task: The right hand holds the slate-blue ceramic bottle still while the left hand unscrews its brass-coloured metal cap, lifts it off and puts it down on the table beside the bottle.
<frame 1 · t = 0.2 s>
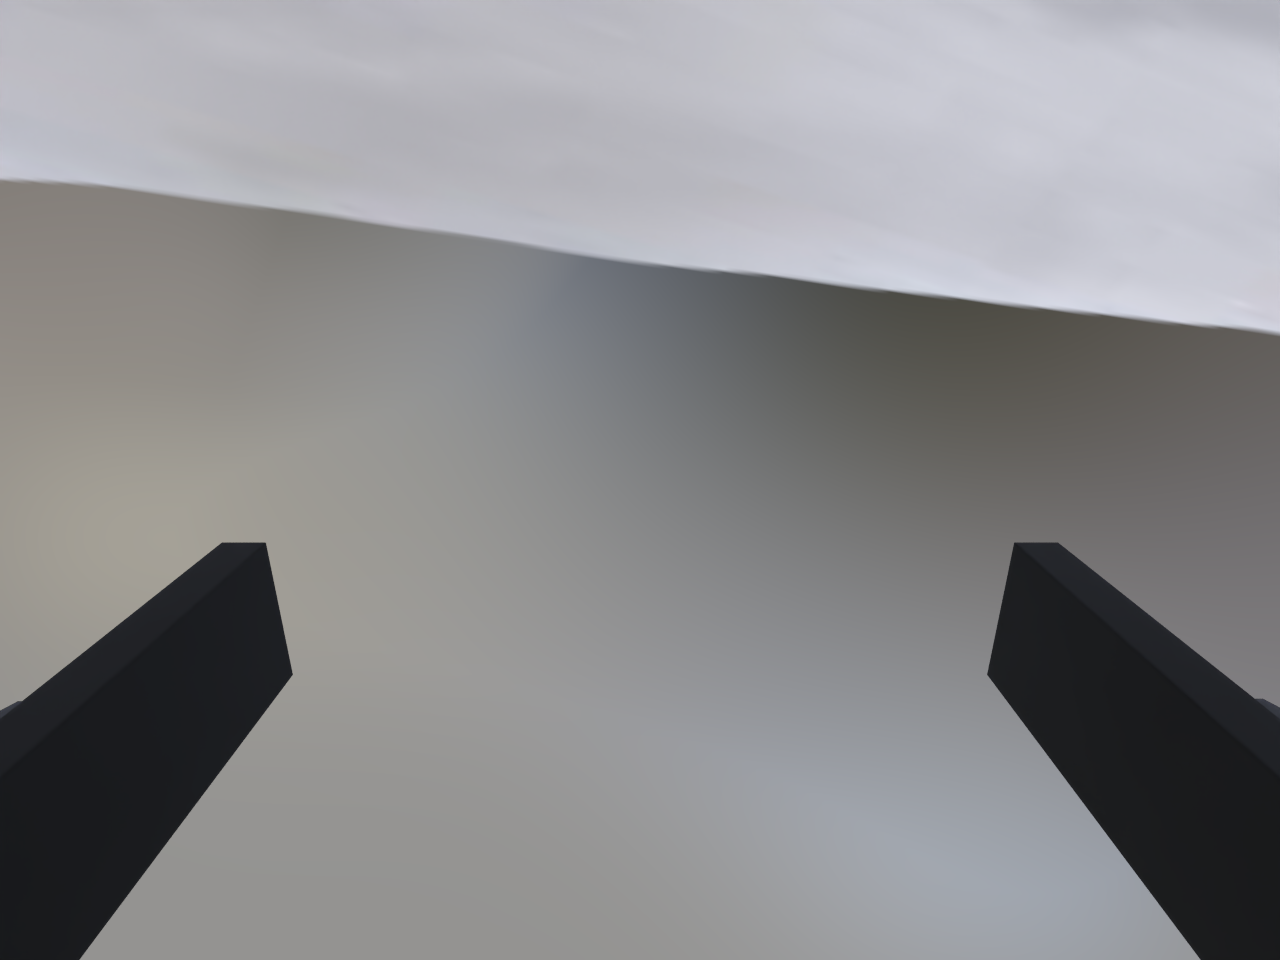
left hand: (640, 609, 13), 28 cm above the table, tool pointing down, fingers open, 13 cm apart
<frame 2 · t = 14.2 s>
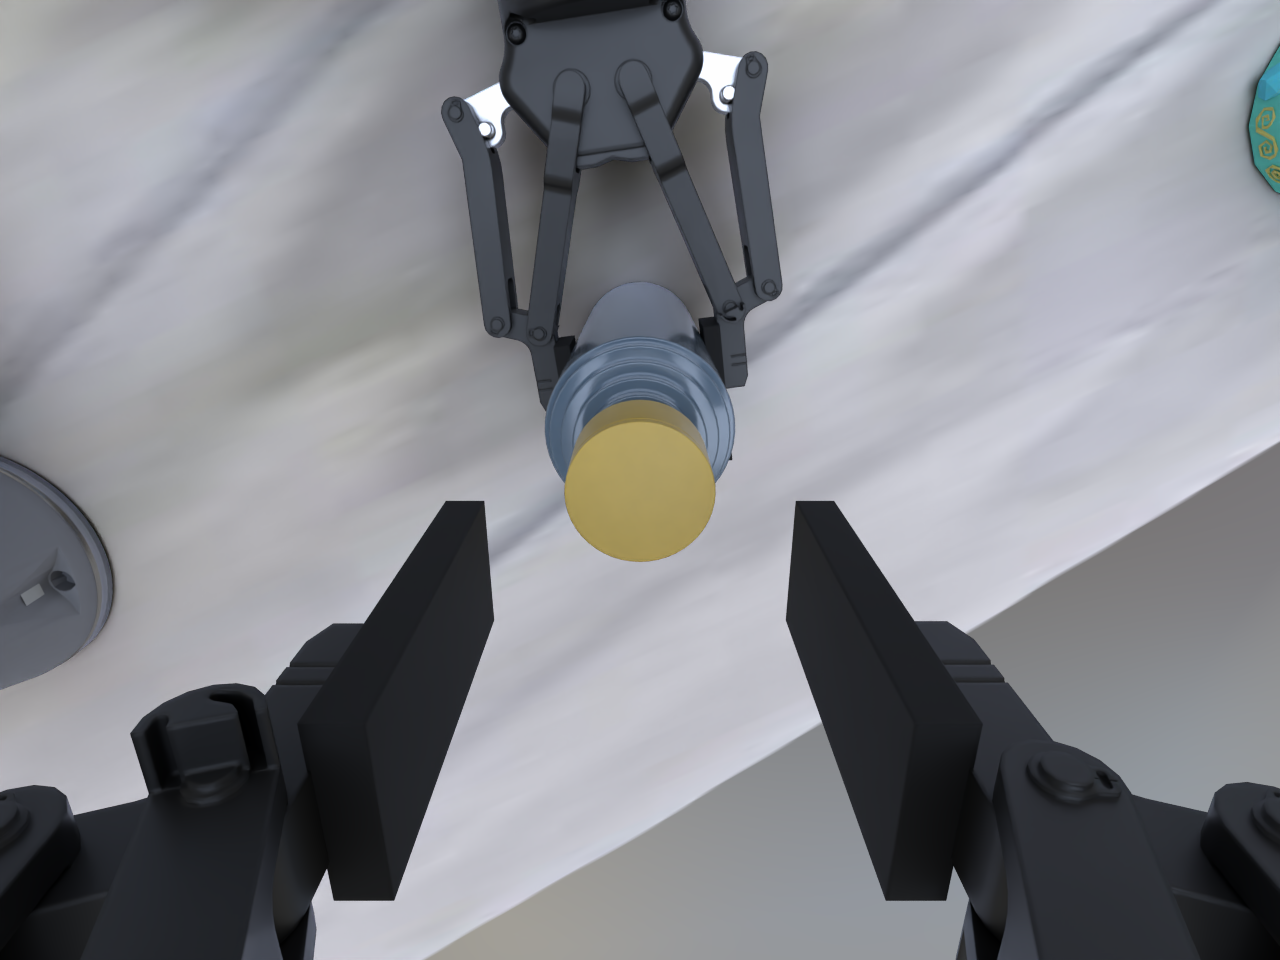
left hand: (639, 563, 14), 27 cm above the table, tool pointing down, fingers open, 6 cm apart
right hand: (653, 459, 36), fingers closed on bottle, 6 cm apart
cap: (639, 490, 18), point 23 cm above the table, screwed on, not yet turned
bottle: (639, 338, 40), on the table, touching right hand
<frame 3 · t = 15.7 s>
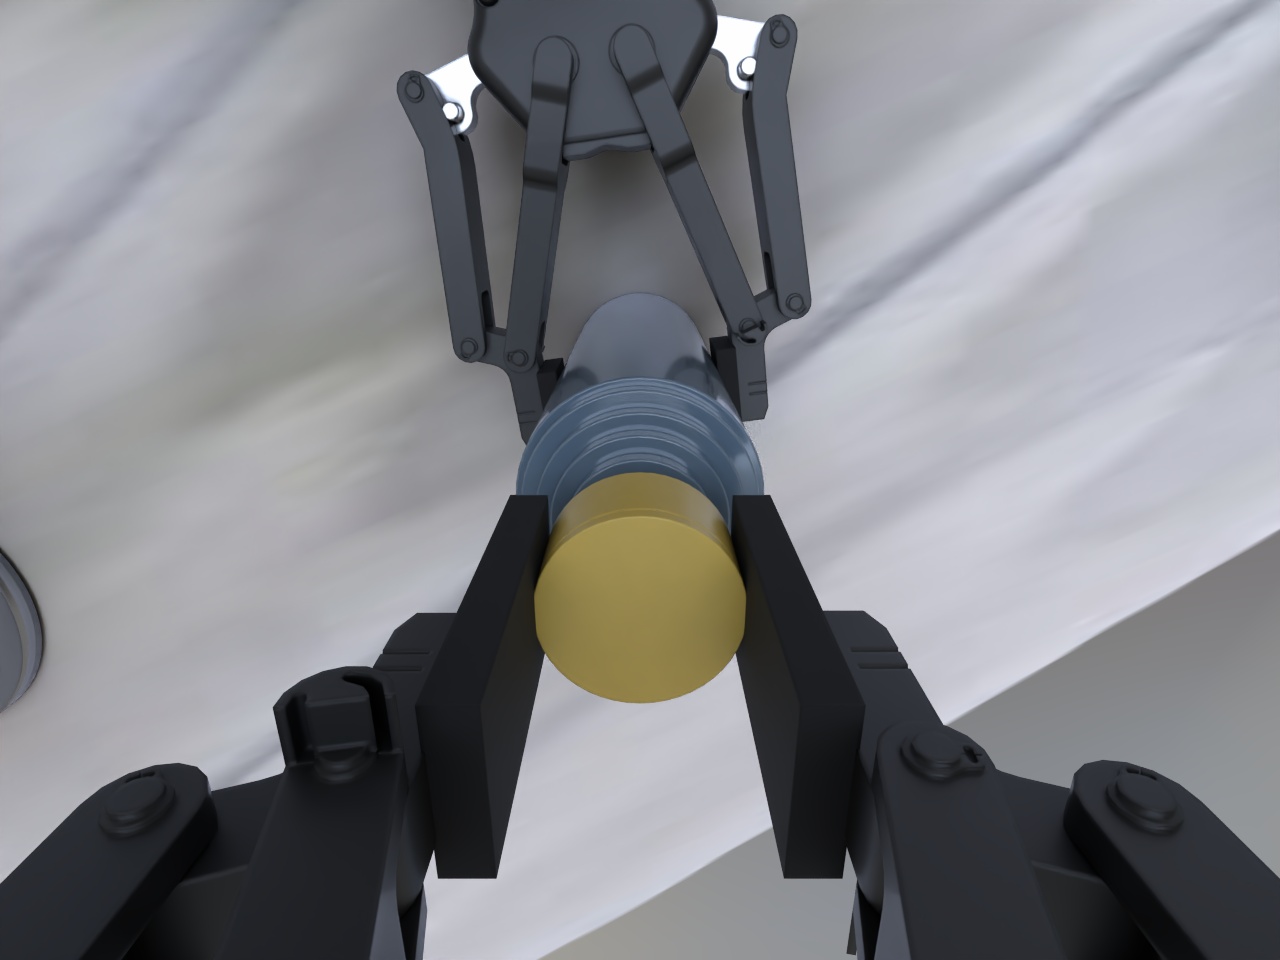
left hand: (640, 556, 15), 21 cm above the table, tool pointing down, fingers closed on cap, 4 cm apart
right hand: (655, 503, 31), fingers closed on bottle, 6 cm apart
cap: (640, 606, 13), point 23 cm above the table, screwed on, not yet turned, touching left hand
bottle: (639, 358, 35), on the table, touching right hand
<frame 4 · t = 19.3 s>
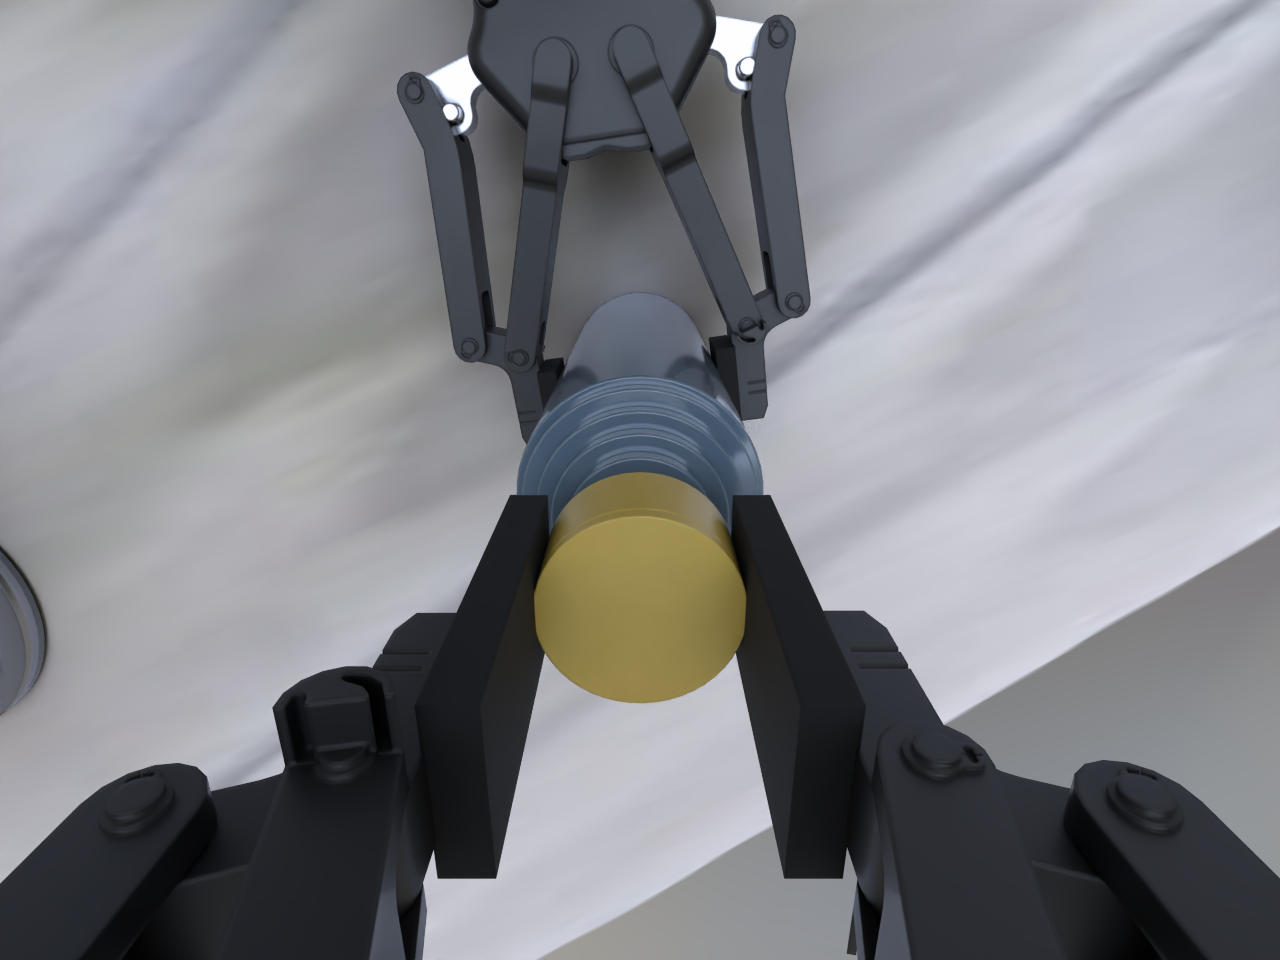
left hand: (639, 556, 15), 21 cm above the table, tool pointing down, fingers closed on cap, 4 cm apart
right hand: (656, 502, 31), fingers closed on bottle, 6 cm apart
cap: (640, 606, 13), point 23 cm above the table, turned 114° so far, risen 0.1 cm, still on its thread, touching left hand
bottle: (639, 357, 35), on the table, touching right hand
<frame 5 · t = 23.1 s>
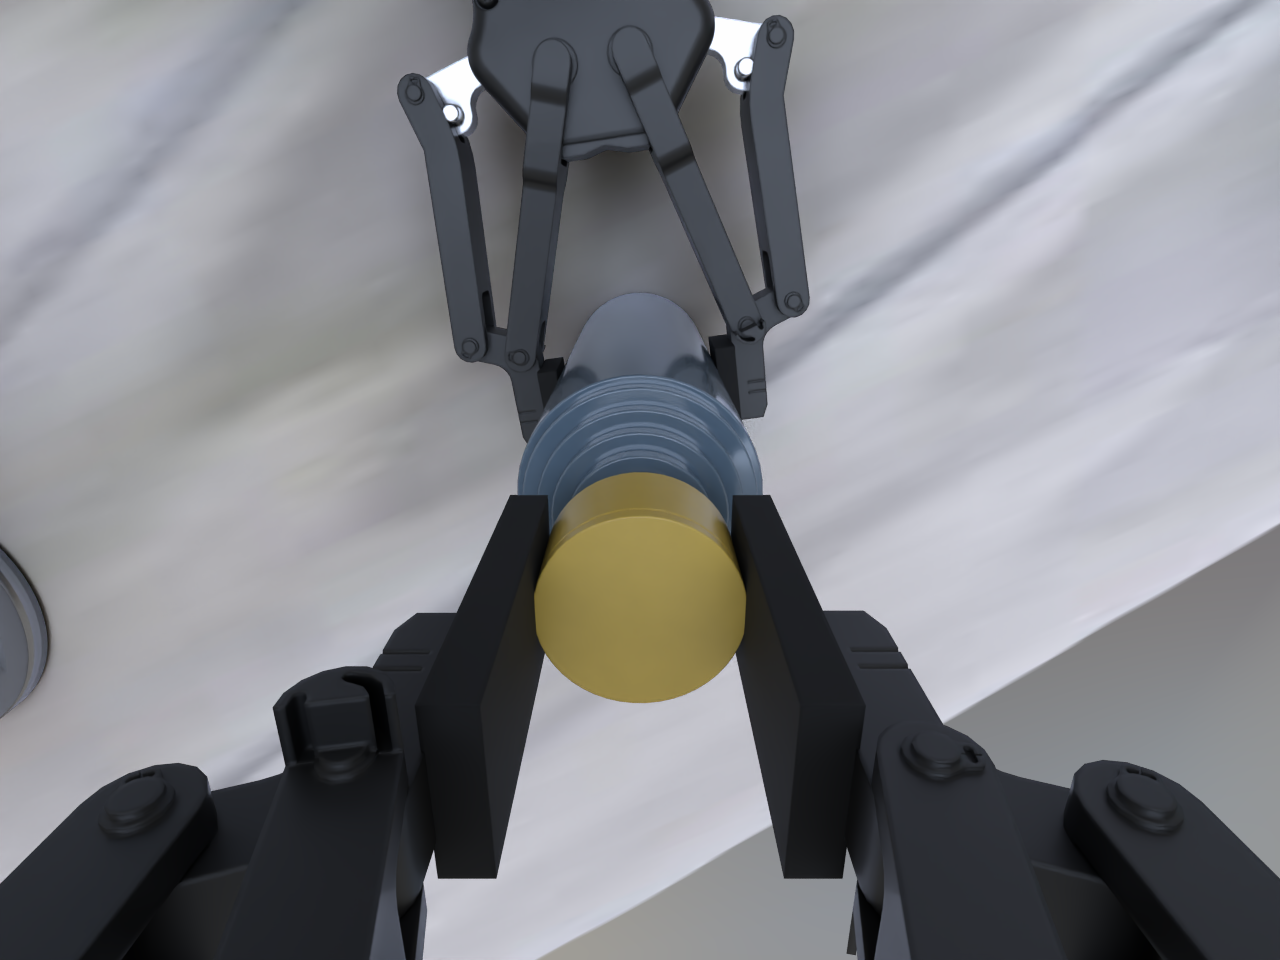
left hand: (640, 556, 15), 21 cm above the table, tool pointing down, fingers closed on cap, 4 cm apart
right hand: (656, 501, 31), fingers closed on bottle, 6 cm apart
cap: (640, 606, 13), point 23 cm above the table, turned 228° so far, risen 0.2 cm, still on its thread, touching left hand
bottle: (639, 357, 35), on the table, touching right hand
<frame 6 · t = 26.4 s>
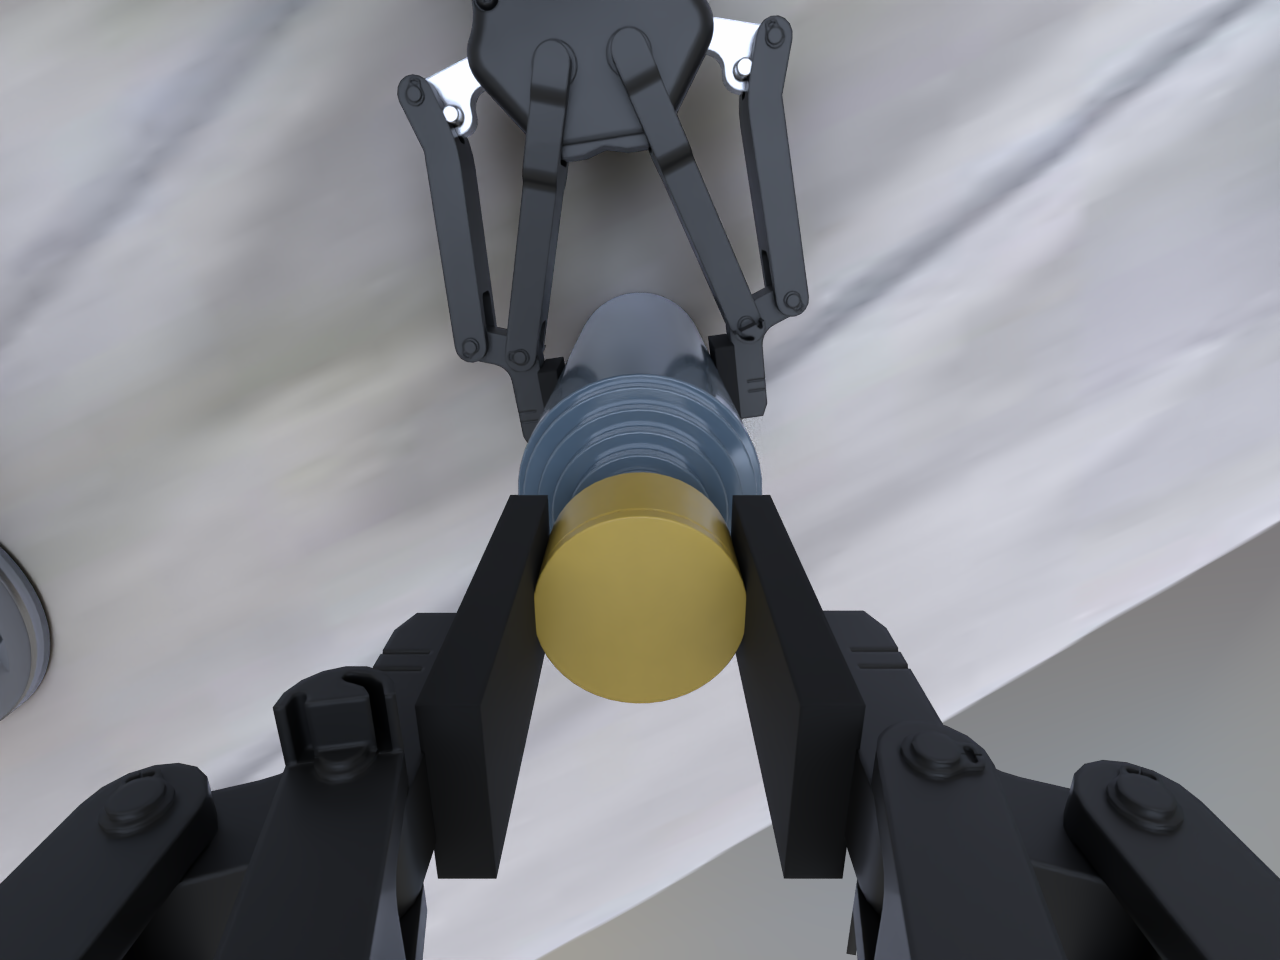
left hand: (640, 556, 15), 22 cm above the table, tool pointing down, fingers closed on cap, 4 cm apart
right hand: (656, 500, 31), fingers closed on bottle, 6 cm apart
cap: (640, 606, 13), point 24 cm above the table, turned 342° so far, risen 0.3 cm, still on its thread, touching left hand
bottle: (639, 356, 35), on the table, touching right hand
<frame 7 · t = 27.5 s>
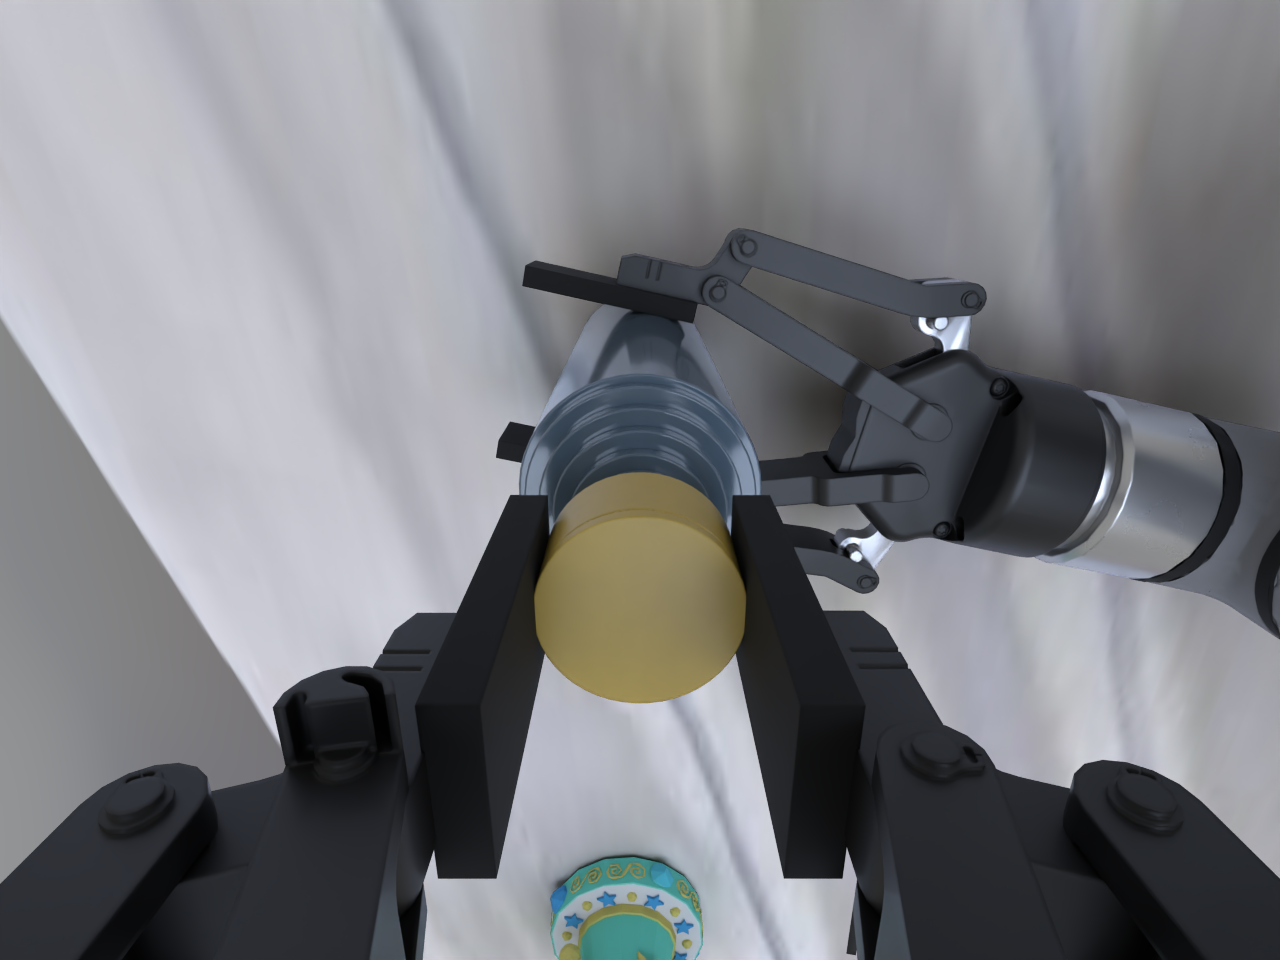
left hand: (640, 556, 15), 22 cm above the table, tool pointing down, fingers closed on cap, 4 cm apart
right hand: (516, 359, 29), fingers closed on bottle, 6 cm apart
cap: (640, 606, 13), point 24 cm above the table, off its thread, touching left hand
bottle: (640, 356, 35), on the table, touching right hand
decorative hourglass: (627, 908, 48), on the table
when the left hand's fingers open (1 cm above the table, at t = 34.0 s): cap stays where it is, point 2 cm above the table.
when the right hand's fingers open (6 cm above the table, at t = 35.2 s): bottle stays where it is, on the table.
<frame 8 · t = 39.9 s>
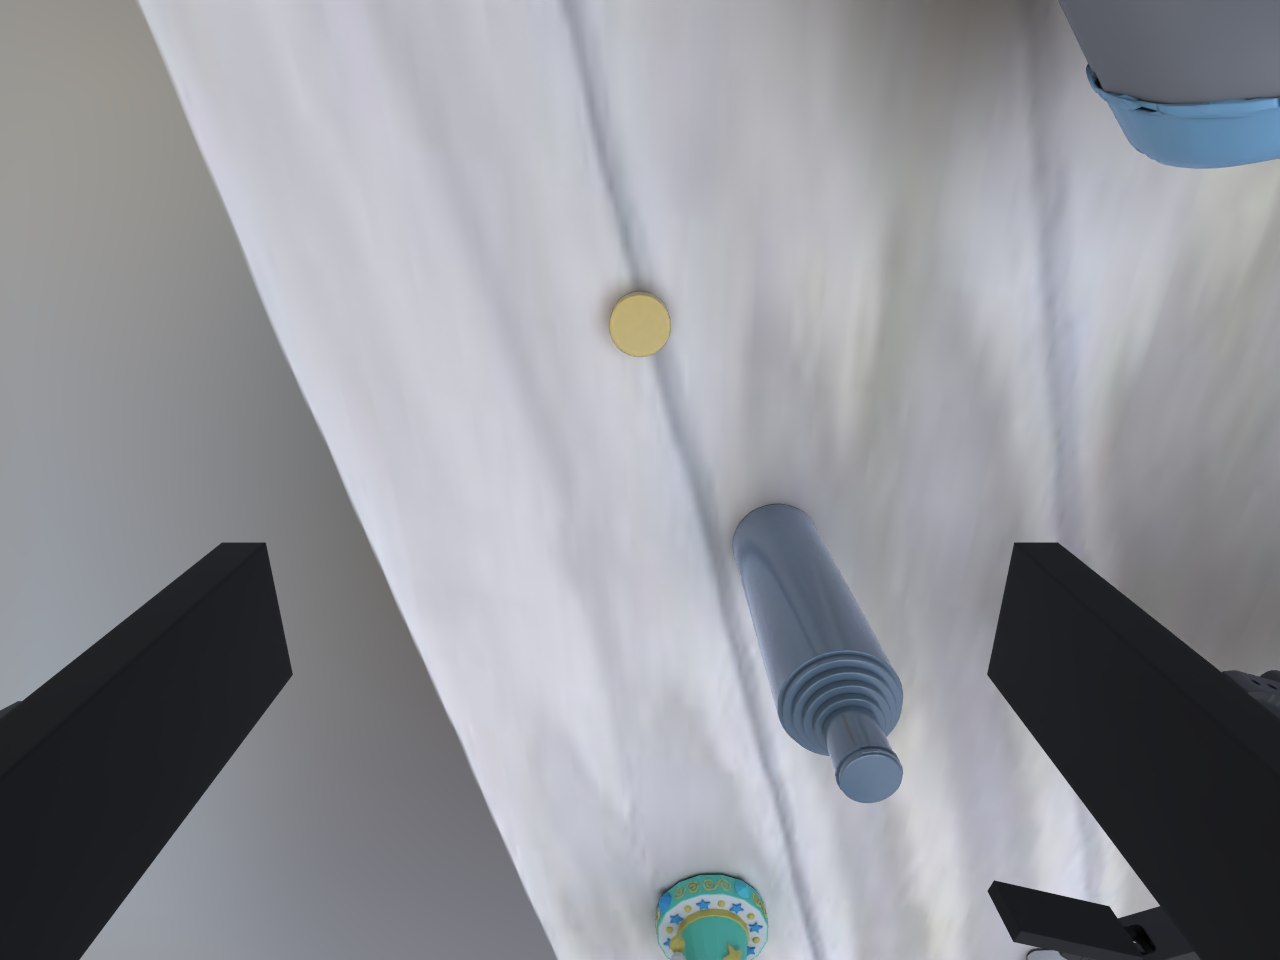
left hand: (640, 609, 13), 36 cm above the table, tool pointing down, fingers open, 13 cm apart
cap: (640, 325, 44), point 2 cm above the table, off its thread
bottle: (774, 542, 52), on the table
decorative hourglass: (710, 912, 65), on the table
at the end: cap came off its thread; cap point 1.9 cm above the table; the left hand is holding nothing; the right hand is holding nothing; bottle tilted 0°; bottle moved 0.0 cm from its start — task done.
